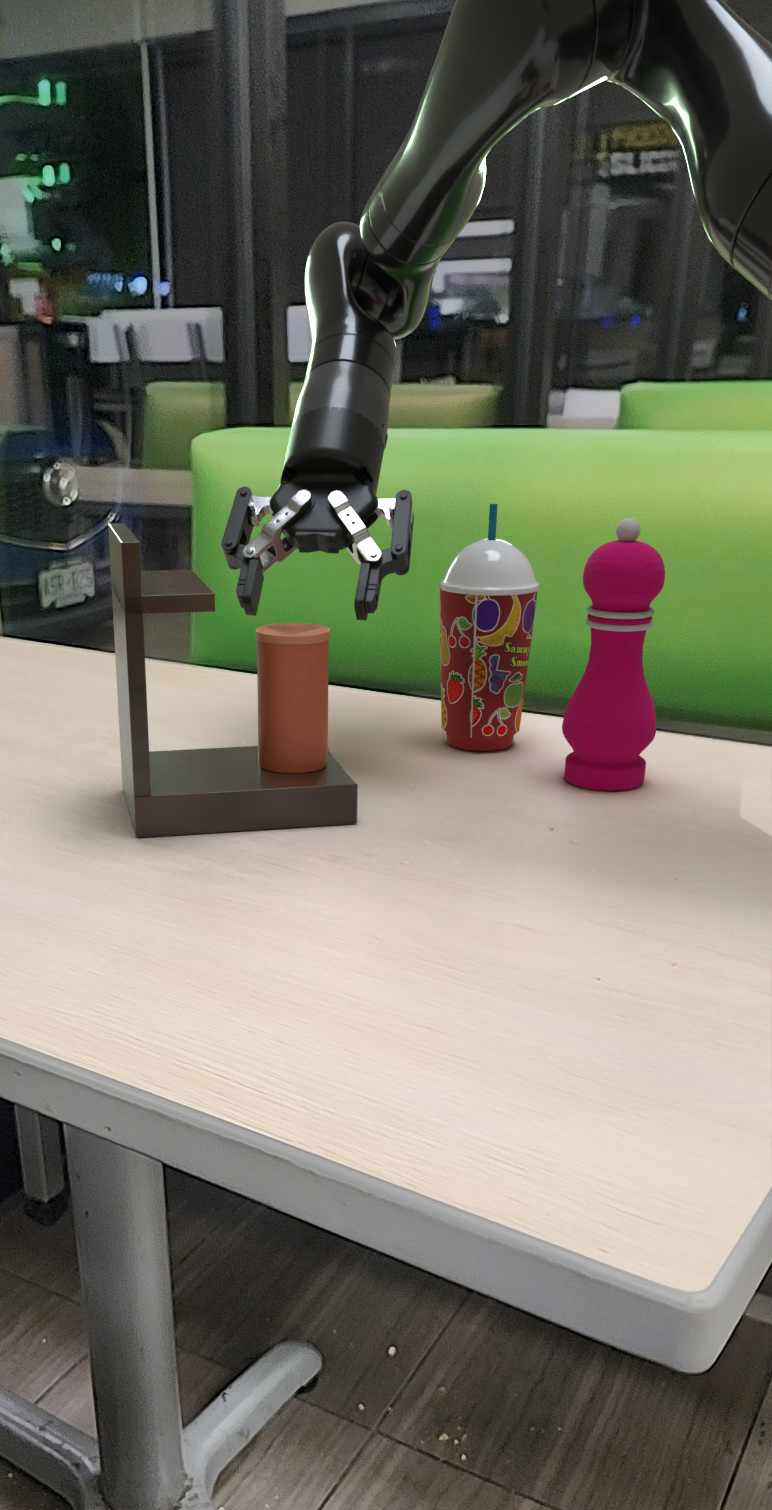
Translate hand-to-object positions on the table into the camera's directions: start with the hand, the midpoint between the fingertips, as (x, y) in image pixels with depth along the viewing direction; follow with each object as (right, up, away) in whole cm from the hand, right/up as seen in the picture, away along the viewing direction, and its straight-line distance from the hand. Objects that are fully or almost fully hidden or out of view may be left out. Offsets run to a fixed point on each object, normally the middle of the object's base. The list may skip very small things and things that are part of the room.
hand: (304, 611), depth 99 cm
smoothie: (+16, -7, +18) cm, 25 cm away
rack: (-5, -14, +1) cm, 15 cm away
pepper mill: (+24, -12, +7) cm, 28 cm away
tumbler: (-1, -11, +1) cm, 11 cm away
